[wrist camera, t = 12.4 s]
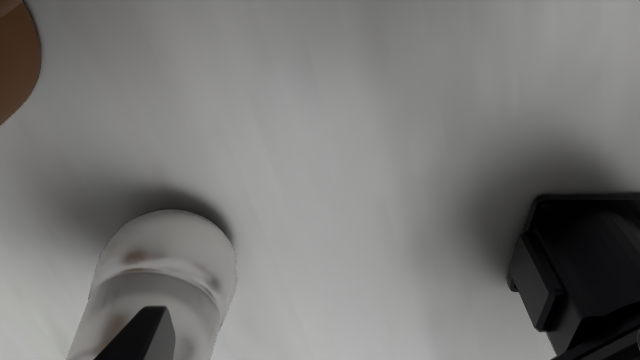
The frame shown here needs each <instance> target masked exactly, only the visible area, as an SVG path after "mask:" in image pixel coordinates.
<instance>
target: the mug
mask: <svg viewBox="0 0 640 360" xmlns="http://www.w3.org/2000/svg"><path fill="white" fill-rule="evenodd" d="M22 1H23V0H0V125H2V124H3V123H4V122H5V121H6V120H7V119H8V118H9V117H10V116H11V115H13V114H14V113H15V112H16V111H17V110H18V109H19V108H20V107H21V106H22V105H23V103H24V102H25V101H26V100H27V99H28V97H29V96H30V94H31V93H32V91H33V89H34V87H35V85H36V83H37V80H38V77H39V73H40V69H41V51H40V44H39V39H38V35H37V31H36V29H35V26H34V23H33V20H32V18H31V16H30V14H29V12H28V10H27V8H26V7H25V5H24V3H23V2H22Z"/></svg>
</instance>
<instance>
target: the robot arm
mask: <svg viewBox="0 0 640 360" xmlns="http://www.w3.org/2000/svg"><path fill="white" fill-rule="evenodd" d="M544 204H547V205H545V206H543V207H541V206H542V205H544ZM509 271H510V274H509V277H508V280H507V283H508V286H509V288H510V290H511V291H513V292H519V294H520V296H521V298H522V300H523V303H524V305H525V307H526V310H527V312H528V314H529V317H530V319H531V321H532V323H533V326H534V328H535V329H536V330H537V331H538V332H546V333H547V336H548V338H549V340H550V342H551V344H552V347H553V349H554V351H555V353H556V355H557V356H556V357H554V358H552V359H550V360H640V195H541V196H538V197H537V198H536V199H534V201H533V203H532V206H531V209H530V212H529V215H528V218H527V221H526V225H525V228H524V231H523V232H522V233H521V234H520V235H519V238H518V241H517V244H516V247H515V250H514V253H513V256H512V259H511V263H510V266H509ZM175 343H176V335H175V330H174V327H173V323H172V319H171V316H170V312H169V309H168V308H167V307H166V306H163V305H149V306H145V307H143V308H142V309H141V310H140V311H139V312H138V313H137V314H136V315H135V316H134V317H133V318H132V319H131V320H130V321H129V322H128V323H127V324H126V325H125V326H124V327H123V329H122V330H121V331H120V332H119V333H118V334H117V335H116V336H115V337H114V338H113V339H112V340H111V341H110V342H109V343H108V344H107V345H106V347H105V348H104V349H103V350H102V351H101V352H100V353H99V354H98V355H97V356H96V357H95V358H94V359H93V360H173V356H174V350H175Z"/></svg>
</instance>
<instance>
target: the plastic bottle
mask: <svg viewBox="0 0 640 360" xmlns="http://www.w3.org/2000/svg"><path fill="white" fill-rule="evenodd" d="M236 286H237V264H236V254H235V251H234V249H233V246H232V244H231V243H230V241H229V240H228V238H227V237H226V236H225V234H224V233H223V232H222V231H221V230H220V229H219V228H218V227H217V226H216V225H215V224H214V223H212V222H211V221H209V220H208V219H206V218H204V217H202V216H200V215H198V214H195V213H191V212H188V211H182V210H160V211H154V212H151V213H148V214H145V215H142V216H139V217H136V218H134V219H132V220H131V221H129V222H127V223H126V224H125V225H124V226H123V227H122V228H121V229H120V230H119V231H118V232H117V233H116V234H115V235H114V237H113V238H112V239H111V240H110V242H109V243H108V244H107V245H106V246H105V248H104V250H103V251H102V253H101V255H100V257H99V260H98V263H97V266H96V269H95V272H94V275H93V279H92V283H91V288H90V293H89V298H88V303H87V305H86V308H85V311H84V313H83V316H82V319H81V321H80V324H79V327H78V329H77V332H76V335H75V337H74V340H73V342H72V345H71V348H70V350H69V353H68V356H67V358H66V360H93V359H94V358H95V357H96V356H97V355H98V354H99V353H100V352H101V351H102V350H103V349H104V348H105V347H106V345H107V344H108V343H109V342H110V341H111V340H112V339H113V338H114V337H115V336H116V335H117V334H118V333H119V332H120V331H121V330H122V329H123V327H124V326H125V325H126V324H127V323H128V322H129V321H130V320H131V319H132V318H133V317H134V316H135V315H136V314H137V313H138V312H139V311H140V310H141V309H142V308H143V307H145V306H149V305H163V306H166V307H167V308H168V309H169V312H170V316H171V319H172V323H173V327H174V330H175V335H176V343H175V350H174V356H173V360H210V359H211V355H212V352H213V349H214V345H215V342H216V339H217V335H218V332H219V330H220V328H221V326H222V323H223V321H224V319H225V317H226V315H227V313H228V311H229V308H230V305H231V302H232V299H233V297H234V294H235V291H236Z"/></svg>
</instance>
